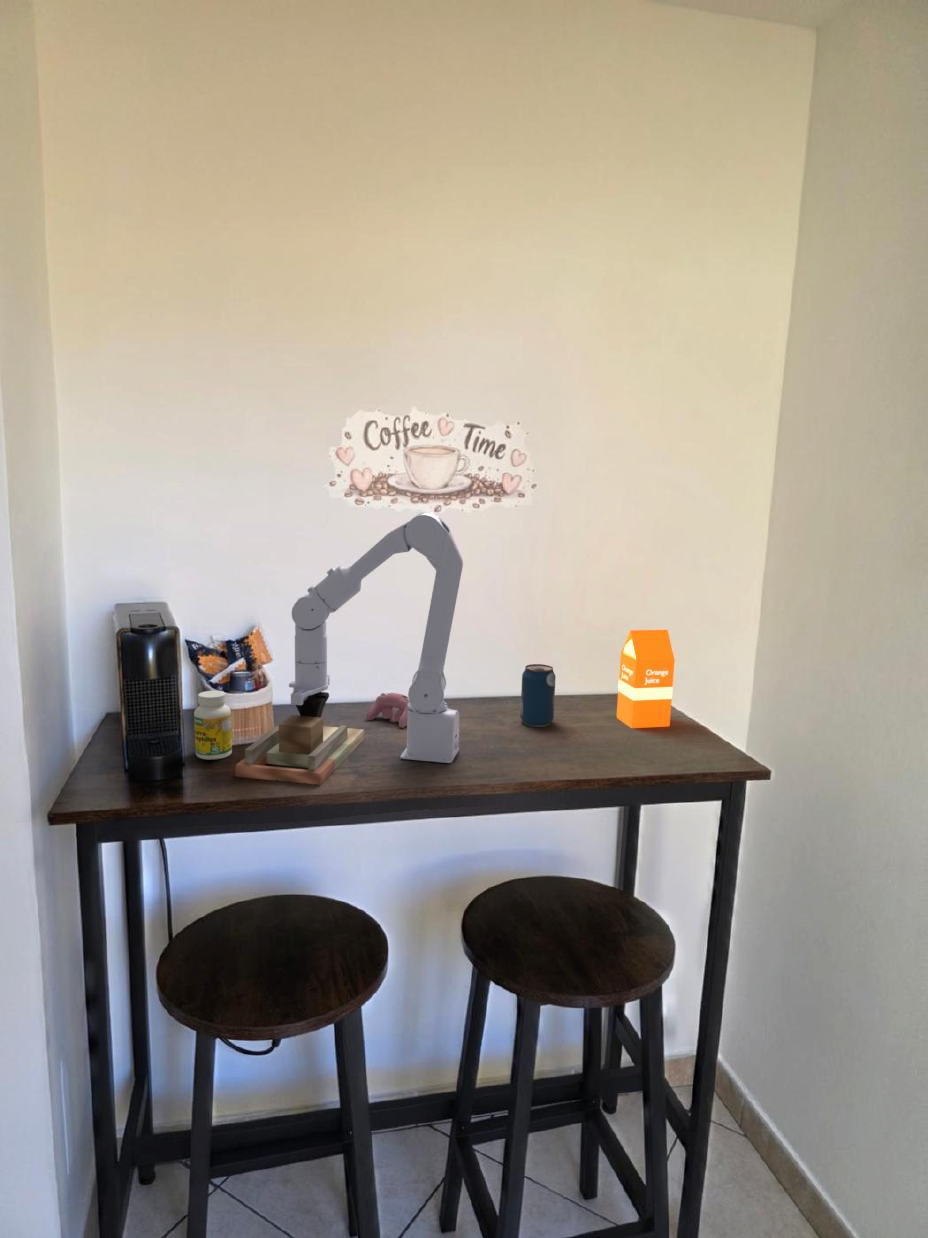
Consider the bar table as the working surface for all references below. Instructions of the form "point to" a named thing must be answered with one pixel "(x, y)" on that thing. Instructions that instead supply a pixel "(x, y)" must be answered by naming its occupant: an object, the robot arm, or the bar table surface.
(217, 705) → the supplement bottle
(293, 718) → the walnut block
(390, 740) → the bar table surface
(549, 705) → the soda can
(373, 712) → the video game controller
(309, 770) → the channel deck
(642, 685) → the orange juice
